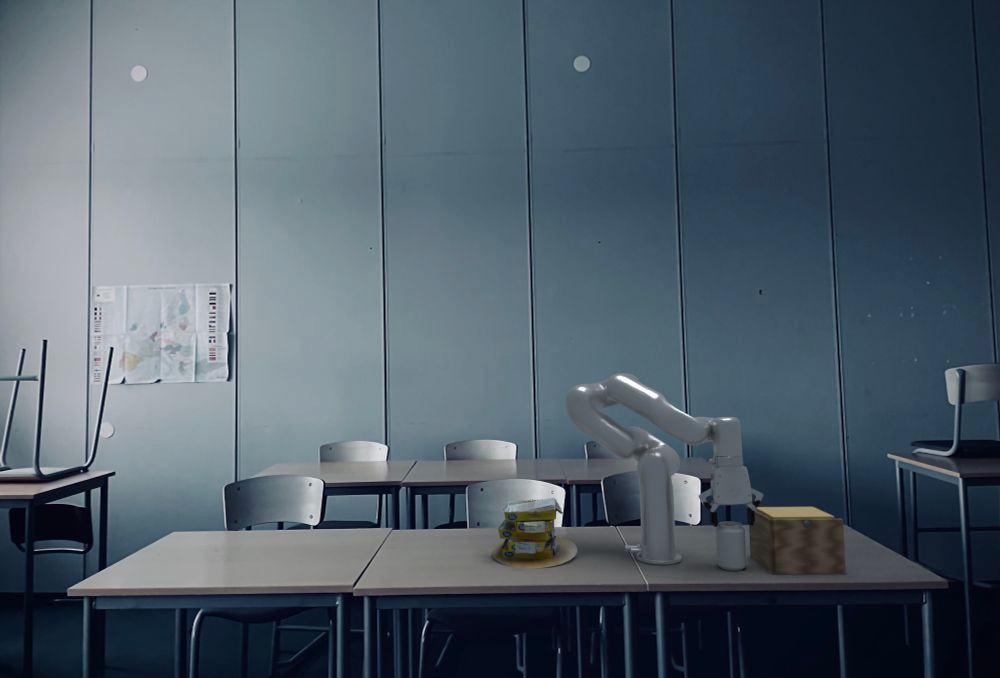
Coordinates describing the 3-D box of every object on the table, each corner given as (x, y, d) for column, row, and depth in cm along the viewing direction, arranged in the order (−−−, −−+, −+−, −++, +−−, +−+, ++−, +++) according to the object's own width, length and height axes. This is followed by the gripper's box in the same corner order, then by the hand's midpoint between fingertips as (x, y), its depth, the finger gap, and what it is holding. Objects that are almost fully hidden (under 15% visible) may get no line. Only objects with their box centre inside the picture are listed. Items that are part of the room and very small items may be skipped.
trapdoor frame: (773, 575, 177) (770, 520, 178) (749, 556, 195) (747, 507, 196) (847, 574, 176) (844, 520, 177) (816, 556, 195) (814, 506, 196)
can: (745, 564, 187) (743, 520, 188) (747, 572, 180) (745, 526, 181) (716, 563, 189) (715, 519, 190) (717, 570, 182) (716, 525, 183)
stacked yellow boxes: (563, 571, 184) (562, 509, 185) (479, 564, 193) (478, 504, 194) (586, 550, 207) (584, 494, 208) (510, 544, 216) (509, 491, 217)
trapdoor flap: (773, 520, 180) (773, 516, 180) (755, 510, 194) (755, 507, 194) (834, 520, 179) (834, 516, 179) (812, 510, 193) (812, 506, 193)
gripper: (700, 464, 183) (704, 529, 181) (765, 462, 182) (769, 527, 181) (693, 461, 190) (697, 523, 189) (755, 459, 190) (760, 521, 188)
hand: (732, 525), depth 185 cm, fingers open, 9 cm apart
